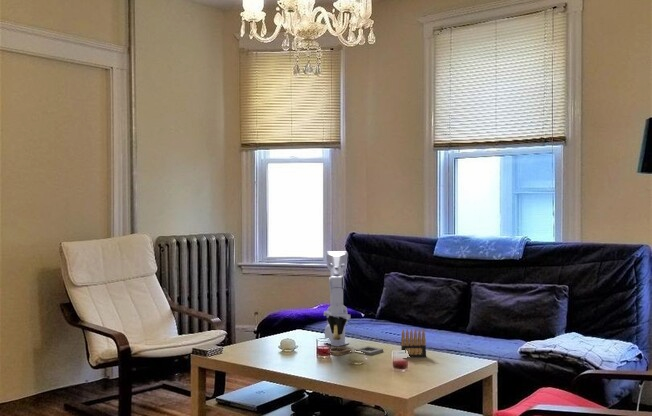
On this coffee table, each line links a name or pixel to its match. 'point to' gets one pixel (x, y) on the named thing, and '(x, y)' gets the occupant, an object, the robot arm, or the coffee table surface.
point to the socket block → (374, 350)
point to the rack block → (341, 351)
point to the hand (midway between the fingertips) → (337, 333)
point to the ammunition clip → (415, 349)
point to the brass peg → (336, 333)
